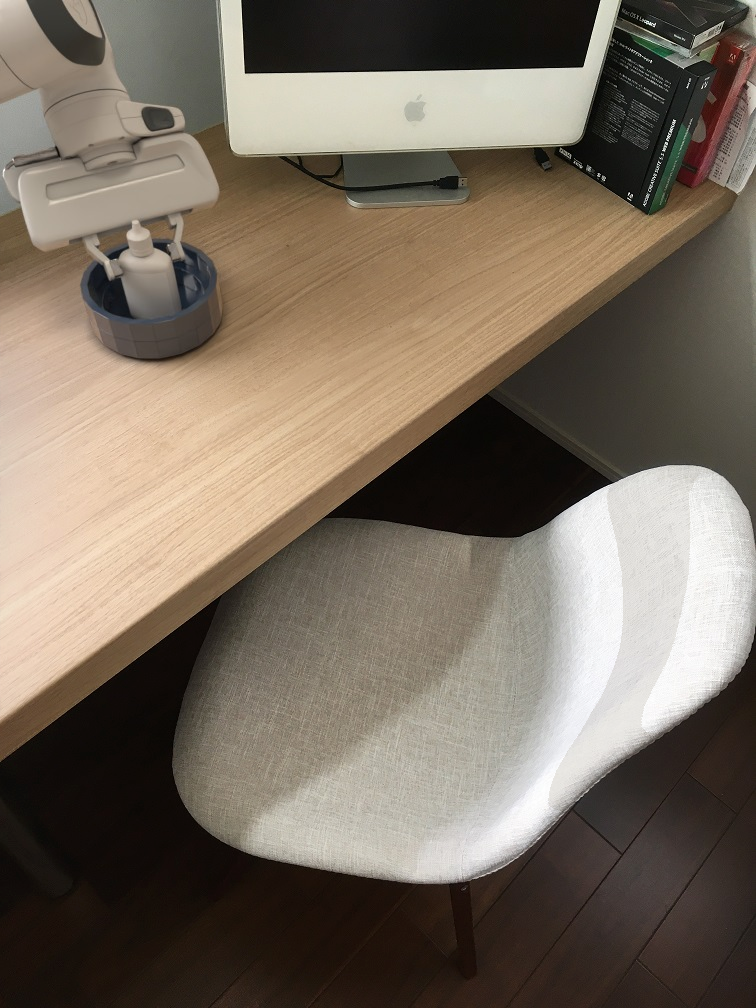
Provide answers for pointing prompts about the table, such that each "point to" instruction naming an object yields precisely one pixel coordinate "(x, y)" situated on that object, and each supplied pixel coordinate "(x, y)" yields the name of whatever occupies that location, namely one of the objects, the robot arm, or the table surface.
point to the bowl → (159, 333)
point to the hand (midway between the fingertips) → (148, 269)
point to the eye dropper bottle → (148, 277)
